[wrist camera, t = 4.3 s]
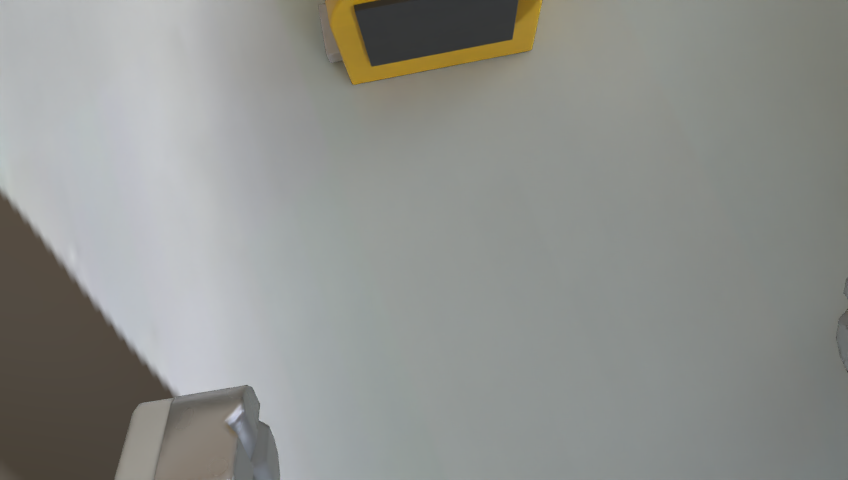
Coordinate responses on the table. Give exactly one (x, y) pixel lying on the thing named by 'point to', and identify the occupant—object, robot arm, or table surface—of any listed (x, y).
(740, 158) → the table surface
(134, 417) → the robot arm
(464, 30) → the tape measure
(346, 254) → the table surface
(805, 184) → the table surface
